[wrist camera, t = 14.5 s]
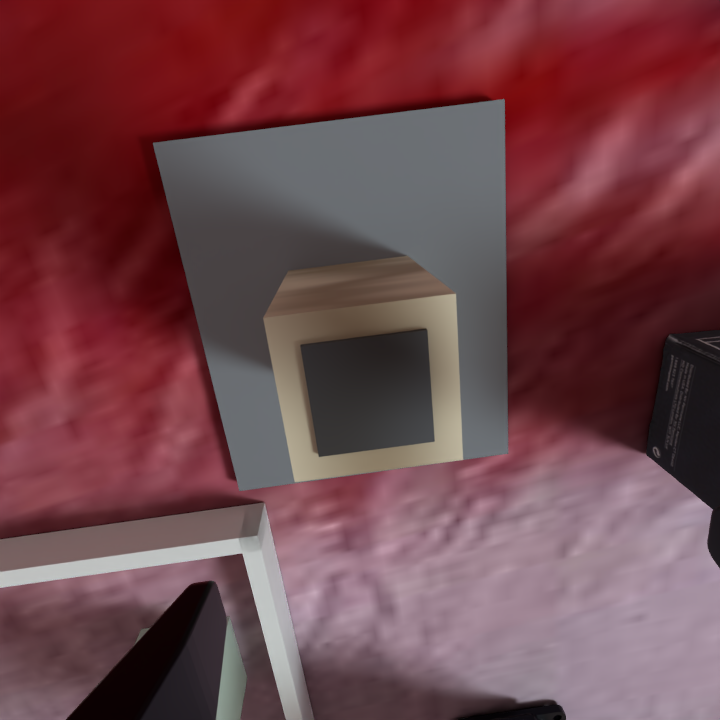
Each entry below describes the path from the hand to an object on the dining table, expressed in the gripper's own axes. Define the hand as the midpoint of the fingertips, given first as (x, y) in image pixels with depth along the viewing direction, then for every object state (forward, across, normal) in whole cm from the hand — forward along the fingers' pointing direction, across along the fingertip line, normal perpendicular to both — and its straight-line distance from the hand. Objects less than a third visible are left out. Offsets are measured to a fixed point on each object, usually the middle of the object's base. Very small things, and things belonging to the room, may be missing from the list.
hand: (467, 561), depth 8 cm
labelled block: (+11, +1, -2) cm, 11 cm away
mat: (+12, +1, -2) cm, 12 cm away
